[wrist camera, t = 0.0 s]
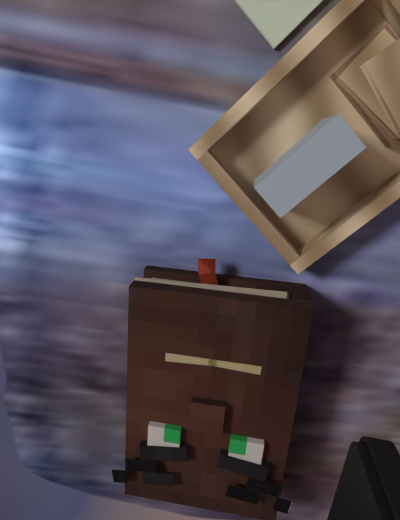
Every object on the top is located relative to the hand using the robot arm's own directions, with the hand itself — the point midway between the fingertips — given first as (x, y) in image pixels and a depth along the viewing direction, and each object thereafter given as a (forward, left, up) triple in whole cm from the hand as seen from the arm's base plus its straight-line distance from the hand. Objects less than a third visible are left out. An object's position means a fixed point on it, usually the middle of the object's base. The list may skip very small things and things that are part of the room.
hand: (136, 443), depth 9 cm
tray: (-11, +1, -31) cm, 33 cm away
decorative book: (+14, +14, -32) cm, 37 cm away
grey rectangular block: (-8, +1, -31) cm, 32 cm away
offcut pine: (-17, +1, -27) cm, 32 cm away
